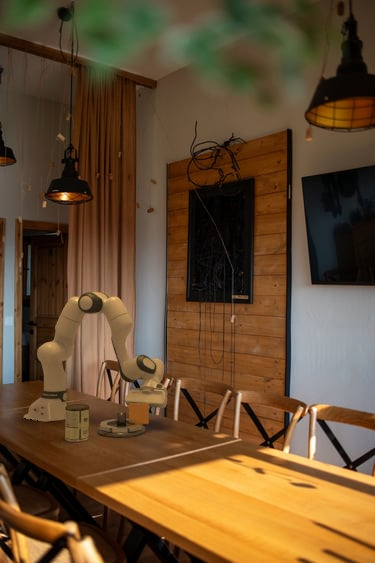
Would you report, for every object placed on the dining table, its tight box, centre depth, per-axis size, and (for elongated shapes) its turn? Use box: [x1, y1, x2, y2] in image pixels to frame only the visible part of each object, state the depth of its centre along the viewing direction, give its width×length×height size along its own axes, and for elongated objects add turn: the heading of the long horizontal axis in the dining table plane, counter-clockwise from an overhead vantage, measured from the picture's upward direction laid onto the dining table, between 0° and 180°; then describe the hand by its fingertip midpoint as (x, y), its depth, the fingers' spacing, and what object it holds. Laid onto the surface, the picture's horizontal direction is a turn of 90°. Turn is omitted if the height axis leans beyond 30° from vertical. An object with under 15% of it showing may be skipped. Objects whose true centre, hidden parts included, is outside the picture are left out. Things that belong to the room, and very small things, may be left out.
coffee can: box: [64, 403, 90, 443], centre depth 235 cm, size 10×10×14 cm
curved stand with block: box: [99, 403, 150, 433], centre depth 248 cm, size 22×19×11 cm
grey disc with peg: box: [96, 411, 146, 439], centre depth 248 cm, size 22×22×8 cm
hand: (141, 413), depth 251 cm, fingers closed
